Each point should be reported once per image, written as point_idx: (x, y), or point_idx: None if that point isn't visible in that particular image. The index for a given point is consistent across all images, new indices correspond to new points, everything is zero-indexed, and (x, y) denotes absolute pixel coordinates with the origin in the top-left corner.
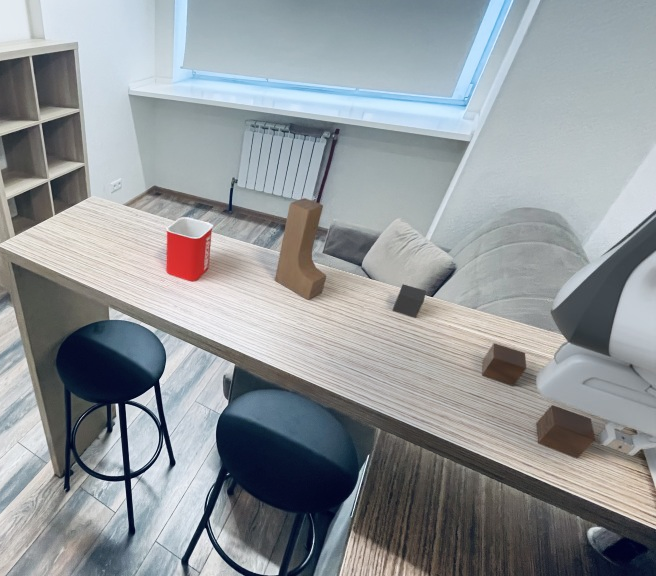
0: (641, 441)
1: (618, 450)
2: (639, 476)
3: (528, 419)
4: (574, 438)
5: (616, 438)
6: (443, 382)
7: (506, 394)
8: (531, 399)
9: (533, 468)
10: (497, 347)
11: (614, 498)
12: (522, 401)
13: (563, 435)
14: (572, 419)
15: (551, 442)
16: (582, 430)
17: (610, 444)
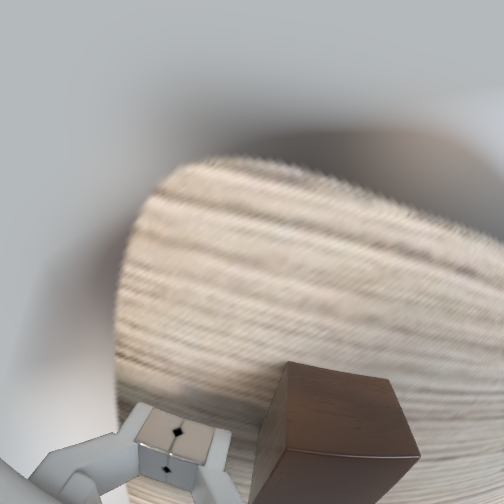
0: (115, 464)
1: (177, 416)
2: (122, 339)
3: None
4: (342, 431)
5: (194, 468)
6: (487, 454)
7: None
8: None
9: (455, 261)
10: None
11: (228, 215)
12: None
13: (375, 429)
14: (324, 499)
15: (373, 393)
16: (318, 474)
17: (207, 437)
